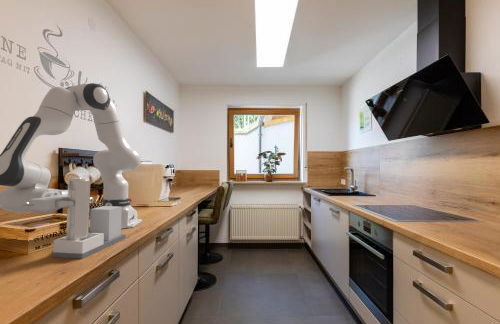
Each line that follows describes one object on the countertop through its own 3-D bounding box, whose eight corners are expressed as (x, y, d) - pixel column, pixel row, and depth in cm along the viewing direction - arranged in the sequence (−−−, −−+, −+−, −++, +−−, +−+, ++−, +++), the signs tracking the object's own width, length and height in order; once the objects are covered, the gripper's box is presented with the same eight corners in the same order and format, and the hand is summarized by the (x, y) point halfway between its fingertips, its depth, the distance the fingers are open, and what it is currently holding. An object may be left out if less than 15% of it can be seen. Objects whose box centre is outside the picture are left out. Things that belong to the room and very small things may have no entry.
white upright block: (62, 249, 88) (64, 177, 88) (81, 244, 93) (84, 177, 94) (72, 253, 85) (74, 178, 85) (92, 247, 90) (94, 177, 91)
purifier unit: (101, 236, 109) (102, 205, 110) (125, 237, 108) (126, 206, 108) (51, 256, 85) (53, 216, 85) (82, 258, 84) (83, 217, 84)
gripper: (18, 195, 81) (59, 196, 80) (68, 189, 101) (101, 190, 100) (18, 215, 81) (59, 216, 80) (68, 205, 101) (101, 206, 100)
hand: (83, 201), depth 90 cm, fingers open, 8 cm apart
